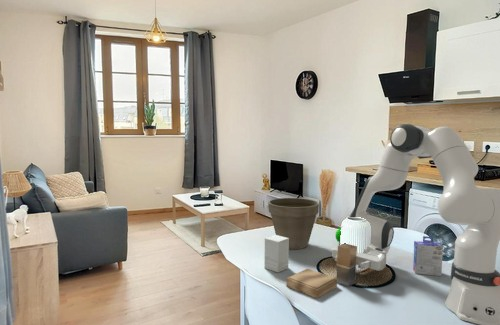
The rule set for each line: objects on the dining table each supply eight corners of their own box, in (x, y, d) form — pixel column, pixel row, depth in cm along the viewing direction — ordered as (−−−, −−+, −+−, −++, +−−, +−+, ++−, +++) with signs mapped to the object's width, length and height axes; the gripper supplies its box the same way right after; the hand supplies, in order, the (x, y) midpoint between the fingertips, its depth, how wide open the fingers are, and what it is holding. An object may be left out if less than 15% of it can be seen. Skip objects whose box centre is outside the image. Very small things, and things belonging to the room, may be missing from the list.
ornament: (347, 241, 181) (348, 222, 180) (354, 246, 173) (355, 226, 172) (332, 241, 180) (333, 222, 179) (338, 246, 172) (339, 226, 171)
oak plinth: (336, 286, 127) (337, 277, 126) (316, 298, 117) (317, 289, 117) (307, 276, 136) (307, 267, 135) (286, 286, 126) (286, 277, 126)
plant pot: (256, 243, 175) (257, 200, 173) (289, 234, 191) (290, 195, 189) (295, 257, 156) (296, 209, 154) (327, 245, 173) (329, 202, 171)
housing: (355, 282, 130) (357, 246, 129) (348, 287, 126) (350, 249, 125) (342, 278, 134) (344, 242, 133) (335, 282, 130) (337, 246, 129)
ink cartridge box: (437, 271, 143) (440, 236, 142) (442, 276, 138) (444, 240, 136) (411, 268, 145) (414, 234, 144) (415, 274, 140) (417, 238, 138)
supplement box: (289, 268, 143) (289, 238, 142) (277, 273, 138) (278, 241, 137) (275, 263, 148) (275, 234, 147) (263, 268, 143) (264, 237, 142)
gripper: (342, 240, 147) (324, 247, 137) (390, 252, 133) (374, 261, 123) (341, 254, 148) (323, 263, 138) (389, 268, 133) (373, 278, 124)
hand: (347, 262), depth 130 cm, fingers open, 8 cm apart
